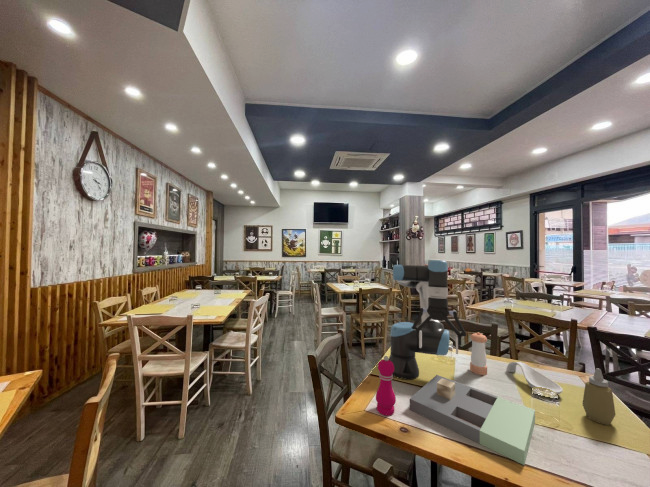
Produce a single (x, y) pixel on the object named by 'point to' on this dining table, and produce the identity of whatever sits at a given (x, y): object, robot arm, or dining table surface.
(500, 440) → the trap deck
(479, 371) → the salt shaker
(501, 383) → the dining table surface
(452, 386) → the birch block
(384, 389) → the pepper mill
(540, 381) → the spoon rest
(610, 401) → the squeeze bottle
